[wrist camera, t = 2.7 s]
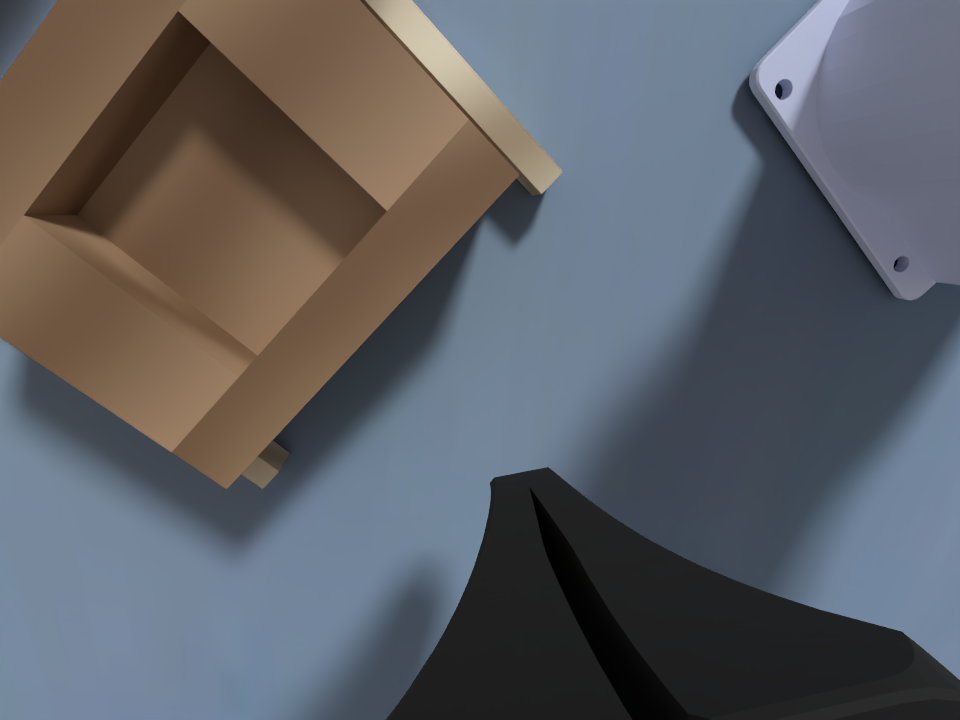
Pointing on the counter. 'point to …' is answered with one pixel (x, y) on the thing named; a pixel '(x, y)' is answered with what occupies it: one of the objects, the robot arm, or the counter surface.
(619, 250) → the counter surface
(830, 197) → the robot arm
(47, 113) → the walnut block
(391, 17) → the birch rail and backstop
